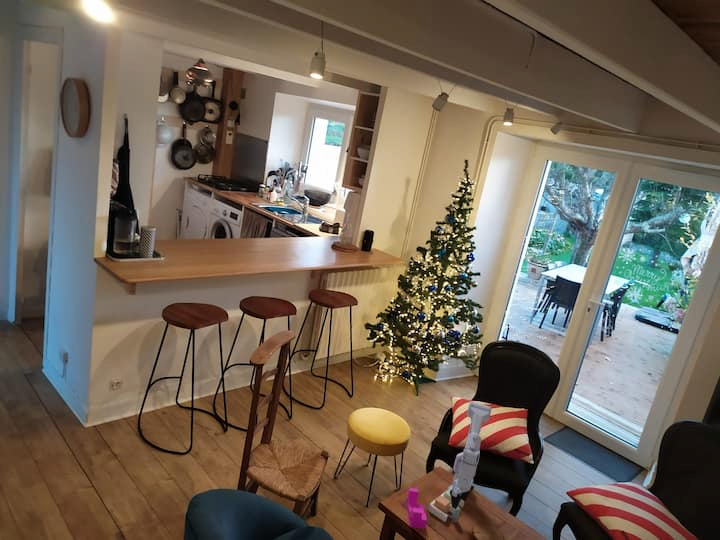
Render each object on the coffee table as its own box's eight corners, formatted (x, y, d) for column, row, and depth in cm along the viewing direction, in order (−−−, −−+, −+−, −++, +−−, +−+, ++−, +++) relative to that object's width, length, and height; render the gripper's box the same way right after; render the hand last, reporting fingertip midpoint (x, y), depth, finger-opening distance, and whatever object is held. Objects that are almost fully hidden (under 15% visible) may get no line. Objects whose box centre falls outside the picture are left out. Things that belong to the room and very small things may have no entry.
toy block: (424, 529, 217) (428, 514, 215) (409, 527, 217) (413, 512, 215) (420, 504, 232) (423, 489, 230) (406, 502, 231) (409, 487, 230)
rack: (445, 495, 240) (447, 489, 240) (463, 506, 235) (464, 500, 234) (427, 510, 229) (428, 504, 228) (445, 522, 223) (446, 516, 223)
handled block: (438, 505, 233) (441, 494, 231) (459, 519, 226) (462, 508, 225) (432, 510, 229) (435, 498, 228) (454, 524, 223) (457, 512, 221)
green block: (446, 499, 238) (449, 488, 237) (455, 505, 235) (458, 495, 234) (441, 503, 235) (444, 492, 234) (451, 509, 232) (454, 498, 231)
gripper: (465, 464, 228) (458, 491, 231) (448, 477, 217) (441, 505, 220) (480, 473, 224) (473, 500, 227) (463, 486, 212) (456, 515, 216)
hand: (458, 503), depth 223 cm, fingers open, 7 cm apart
